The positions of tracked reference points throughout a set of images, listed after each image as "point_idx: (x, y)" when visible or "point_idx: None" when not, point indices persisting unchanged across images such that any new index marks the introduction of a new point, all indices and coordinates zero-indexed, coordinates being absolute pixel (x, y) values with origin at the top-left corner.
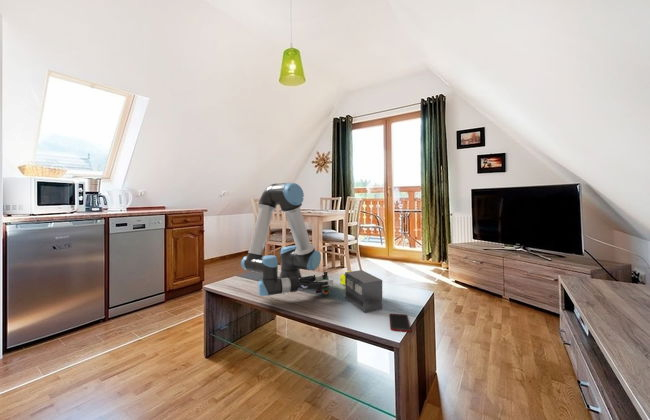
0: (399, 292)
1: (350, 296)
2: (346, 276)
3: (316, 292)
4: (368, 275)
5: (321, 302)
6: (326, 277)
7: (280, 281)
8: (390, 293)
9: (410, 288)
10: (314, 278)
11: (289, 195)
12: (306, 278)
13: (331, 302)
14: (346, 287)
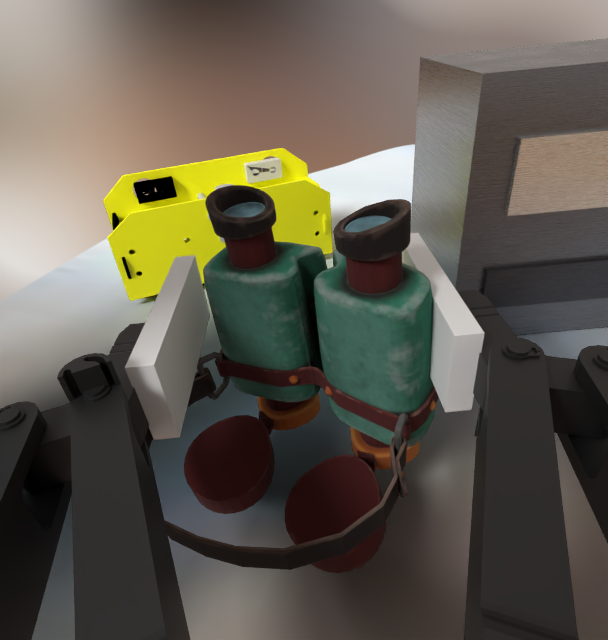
0: (400, 177)
1: (572, 286)
2: (508, 119)
3: (361, 556)
4: (605, 42)
5: (571, 580)
6: (301, 262)
7: None
8: (404, 193)
9: (363, 157)
10: (130, 416)
11: None
12: (90, 615)
13: (559, 462)
14: (487, 241)
